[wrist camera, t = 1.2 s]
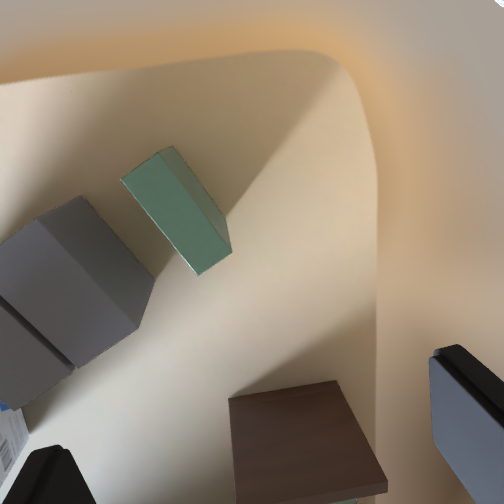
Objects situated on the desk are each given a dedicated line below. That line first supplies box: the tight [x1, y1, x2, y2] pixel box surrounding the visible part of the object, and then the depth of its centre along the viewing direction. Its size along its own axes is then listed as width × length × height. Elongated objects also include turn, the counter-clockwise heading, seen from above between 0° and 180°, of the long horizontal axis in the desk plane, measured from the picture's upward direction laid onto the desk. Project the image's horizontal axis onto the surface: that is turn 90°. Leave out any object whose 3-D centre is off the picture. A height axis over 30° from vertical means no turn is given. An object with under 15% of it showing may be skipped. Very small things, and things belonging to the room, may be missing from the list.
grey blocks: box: [0, 195, 155, 411], centre depth 26 cm, size 10×9×8 cm
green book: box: [121, 146, 232, 276], centre depth 25 cm, size 3×7×9 cm, turn 34°
